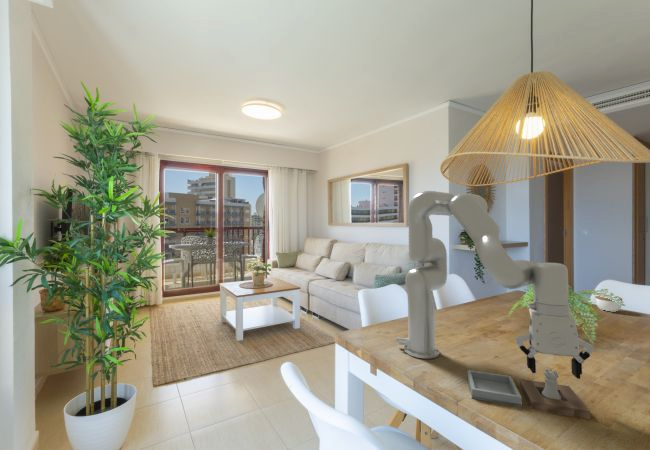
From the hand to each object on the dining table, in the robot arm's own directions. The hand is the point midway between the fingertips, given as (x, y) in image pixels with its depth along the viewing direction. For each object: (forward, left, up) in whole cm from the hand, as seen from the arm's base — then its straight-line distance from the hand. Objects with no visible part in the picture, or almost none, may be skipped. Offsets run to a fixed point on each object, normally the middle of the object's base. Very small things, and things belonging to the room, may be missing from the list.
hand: (553, 373), depth 79 cm
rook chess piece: (-1, 0, -8) cm, 8 cm away
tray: (-15, 0, -8) cm, 16 cm away
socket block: (-1, 0, -8) cm, 8 cm away
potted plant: (+59, +110, -8) cm, 126 cm away
